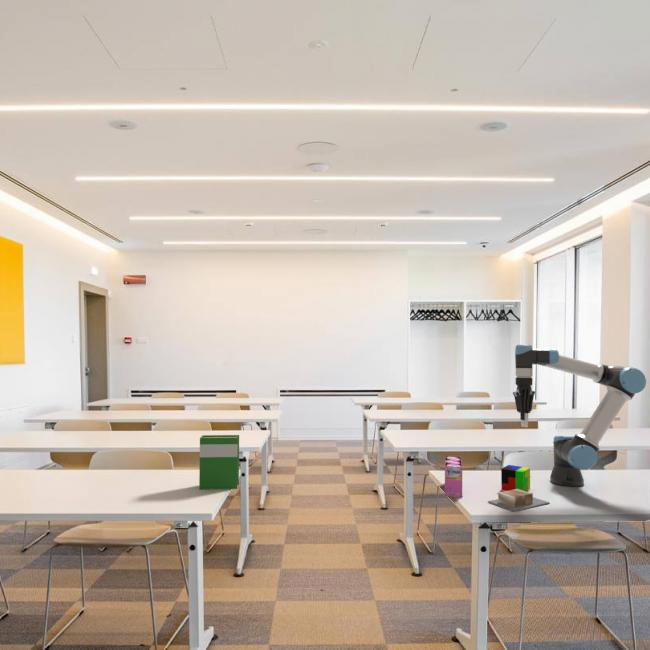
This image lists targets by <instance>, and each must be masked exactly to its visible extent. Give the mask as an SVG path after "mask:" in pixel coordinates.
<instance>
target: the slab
mask: <svg viewBox="0 0 650 650" xmlns="http://www.w3.org/2000/svg"><path fill="white" fill-rule="evenodd" d="M533 497H534V494H533V493H532V492H530V491H527V492H526V491H523V490H520V489H514V490H509V491H505V490H503V491H500V492H498V497H497V499H498V502H500V503H503V504H506V505H508V506H511V507H517V506H521V505H526V504H530V503H533Z"/></svg>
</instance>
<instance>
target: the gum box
mask: <svg viewBox="0 0 650 650" xmlns="http://www.w3.org/2000/svg"><path fill="white" fill-rule="evenodd" d="M444 496H445V497H451V498H452V497H453V498H454V497H455V498H463V463H462V456H460V455H458V456H457V457H455V456H448V455H445V457H444Z"/></svg>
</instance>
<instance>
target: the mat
mask: <svg viewBox="0 0 650 650" xmlns="http://www.w3.org/2000/svg"><path fill="white" fill-rule="evenodd" d="M487 503H488V504H491V505H493V504H494V506H497V507H500V508H501V509H504V510H508V511H510V510H511V512H520V511H523V510H527V509H532V508H537V507H541V506H546V505H549V504H550V502H549V501H546V500H543V499H540V498H536V497H534V496H533V503H530V504H526V505H521V506H517V507H511V506H508V505H506V504H503V503H500V502H498V498H496V499H491V500H488V501H487Z"/></svg>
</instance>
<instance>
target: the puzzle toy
mask: <svg viewBox="0 0 650 650" xmlns="http://www.w3.org/2000/svg"><path fill="white" fill-rule="evenodd" d="M500 469H501V472H500V474H501V477H500V478H501V480H500V481H501V491H509V490H514V489H520V490H523V491H527V492H529V489H530V490H531V468H530V467H526V466H519V465H513V464H508V465H505V466H504V467H502V468H500Z"/></svg>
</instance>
